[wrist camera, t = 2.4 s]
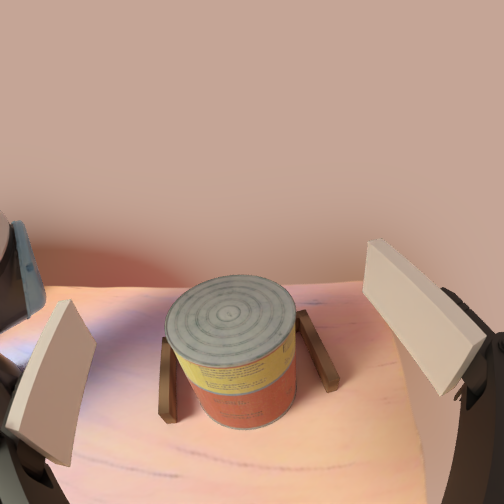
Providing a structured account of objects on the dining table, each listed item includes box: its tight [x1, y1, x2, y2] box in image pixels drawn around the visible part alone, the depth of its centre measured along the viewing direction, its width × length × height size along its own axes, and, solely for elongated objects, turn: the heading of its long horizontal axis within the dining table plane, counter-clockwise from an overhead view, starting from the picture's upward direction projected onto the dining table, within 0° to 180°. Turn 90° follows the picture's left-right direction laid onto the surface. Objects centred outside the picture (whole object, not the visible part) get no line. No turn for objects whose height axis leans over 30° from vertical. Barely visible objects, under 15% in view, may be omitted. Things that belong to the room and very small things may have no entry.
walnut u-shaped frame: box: [158, 310, 340, 424], centre depth 30 cm, size 12×19×2 cm, turn 101°
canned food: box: [165, 275, 296, 430], centre depth 26 cm, size 11×11×12 cm
